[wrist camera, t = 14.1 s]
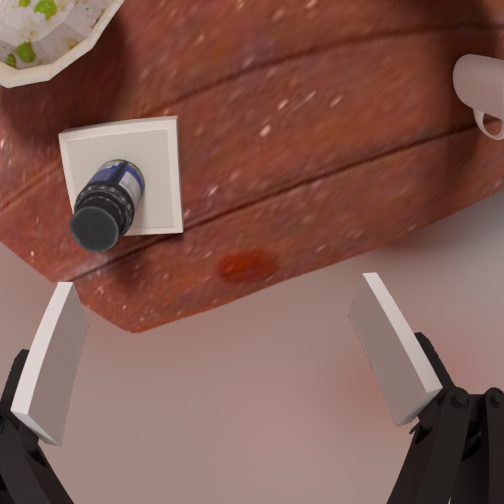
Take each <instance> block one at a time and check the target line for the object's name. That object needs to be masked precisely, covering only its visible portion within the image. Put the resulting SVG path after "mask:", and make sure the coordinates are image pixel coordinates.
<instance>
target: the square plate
mask: <svg viewBox="0 0 504 504" xmlns="http://www.w3.org/2000/svg"><path fill="white" fill-rule="evenodd" d="M58 135H59V142H60V149H61V155H62V161H63V167H64V173H65V178H66V183H67V188H68V193H69V198H70V202H71V207H72V211H73V214H74V204H75V200H76V198H77V196H78V195H79V193H80V192H81V191H82V189H83V188H84V187H85V186H86V184H87V183H88V182H89V181H90V179H91V178H92V177H93V176H94V174H95V173H96V172H97V171H98V169H99V168H100V167H101V166H102V165H103V164H105V163H107V162H109V161H111V160H116V159H122V160H126V161H129V162H131V163H133V164H134V165H136V166H137V167H138V168H139V169H140V171H141V173H142V175H143V178H144V184H145V187H144V192H143V195H142V197H141V200H140V202H139V205H138V208H137V210H136V213H135V216H134V219H133V222H132V225H131V227H130V228H129V230H128V231H127V232H126V234H125V235H123V236H129V235H145V234H163V233H182V232H183V227H184V218H183V205H182V191H181V174H180V156H179V132H178V116H166V117H154V118H143V119H133V120H124V121H116V122H108V123H101V124H94V125H88V126H82V127H76V128H70V129H66V130H64V131H63V132H61V133H59V134H58Z"/></svg>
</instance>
